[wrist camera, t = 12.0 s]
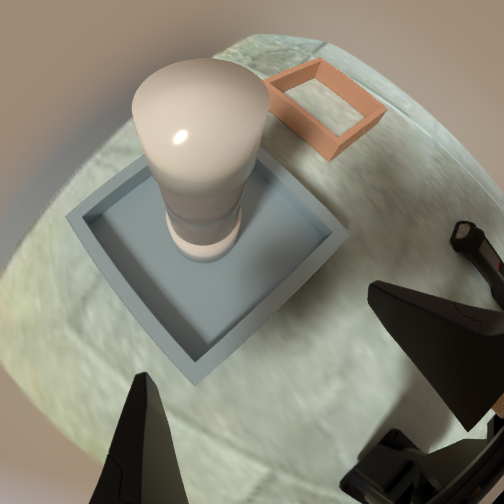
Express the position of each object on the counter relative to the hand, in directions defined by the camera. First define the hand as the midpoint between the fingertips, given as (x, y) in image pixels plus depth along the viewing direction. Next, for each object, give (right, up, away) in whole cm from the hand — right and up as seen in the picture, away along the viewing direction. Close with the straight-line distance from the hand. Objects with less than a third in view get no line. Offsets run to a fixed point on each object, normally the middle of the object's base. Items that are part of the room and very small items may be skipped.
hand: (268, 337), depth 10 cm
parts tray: (-4, +4, +10) cm, 12 cm away
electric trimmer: (+25, 0, +14) cm, 29 cm away
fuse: (-4, +4, +9) cm, 11 cm away
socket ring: (+6, +17, +16) cm, 24 cm away
